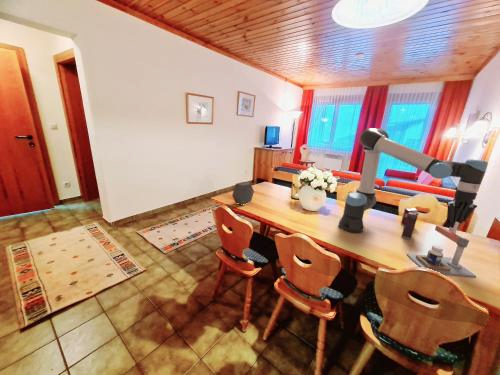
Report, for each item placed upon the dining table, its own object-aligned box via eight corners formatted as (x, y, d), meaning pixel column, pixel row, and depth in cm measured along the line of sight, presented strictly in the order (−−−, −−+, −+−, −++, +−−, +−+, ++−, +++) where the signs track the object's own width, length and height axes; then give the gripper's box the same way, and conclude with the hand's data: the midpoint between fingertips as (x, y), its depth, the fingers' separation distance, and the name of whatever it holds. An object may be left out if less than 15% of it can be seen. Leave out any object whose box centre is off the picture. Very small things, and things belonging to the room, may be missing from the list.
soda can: (415, 227, 144) (420, 211, 140) (403, 226, 145) (408, 210, 142) (409, 223, 150) (414, 208, 147) (398, 222, 152) (402, 206, 148)
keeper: (460, 247, 97) (463, 241, 96) (433, 230, 114) (435, 224, 113) (469, 247, 97) (471, 241, 96) (440, 230, 113) (442, 225, 112)
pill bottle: (422, 260, 104) (427, 243, 102) (431, 260, 105) (437, 243, 102) (431, 267, 99) (437, 250, 96) (442, 267, 100) (448, 250, 97)
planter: (248, 193, 184) (241, 176, 171) (255, 195, 180) (248, 178, 166) (238, 207, 176) (229, 191, 162) (245, 210, 171) (237, 193, 158)
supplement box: (410, 239, 127) (417, 216, 122) (401, 236, 130) (407, 213, 125) (412, 235, 133) (418, 212, 128) (403, 232, 136) (409, 210, 132)
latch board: (425, 272, 97) (432, 250, 94) (406, 254, 110) (412, 235, 107) (475, 277, 95) (484, 255, 92) (450, 258, 109) (457, 239, 105)
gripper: (459, 191, 100) (444, 235, 107) (488, 193, 99) (471, 237, 106) (446, 187, 107) (433, 228, 114) (473, 189, 106) (458, 230, 113)
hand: (451, 232), depth 110 cm, fingers closed
